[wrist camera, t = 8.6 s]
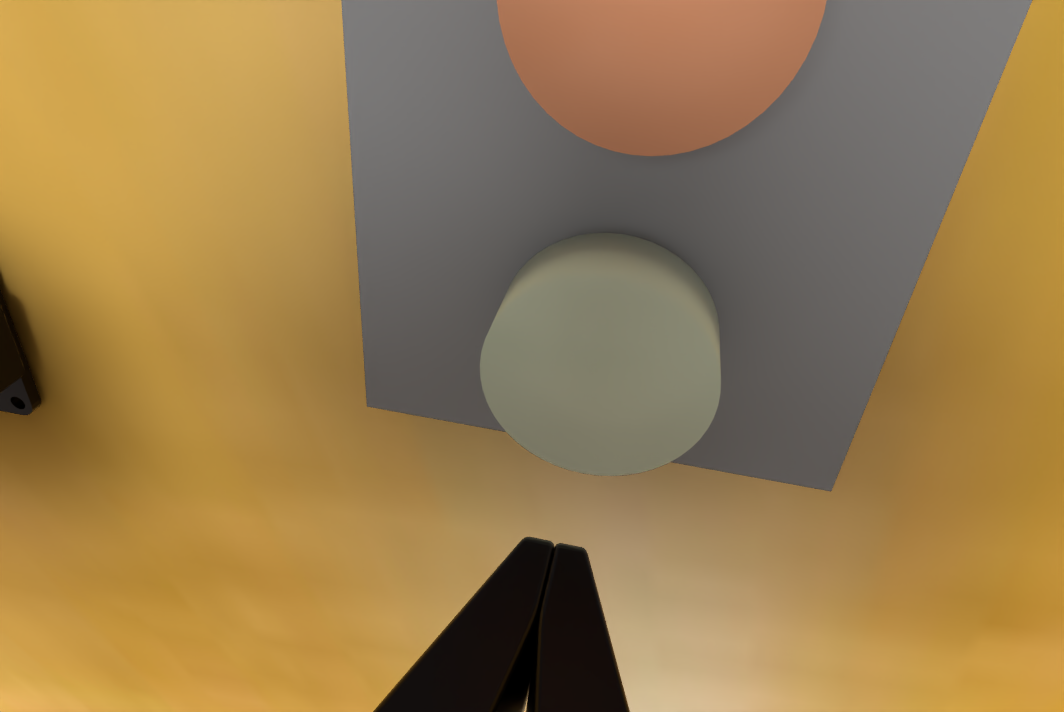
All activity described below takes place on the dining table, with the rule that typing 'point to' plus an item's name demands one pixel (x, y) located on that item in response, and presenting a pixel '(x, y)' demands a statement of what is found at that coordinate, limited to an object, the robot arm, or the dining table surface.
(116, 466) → the dining table surface
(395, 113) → the button panel
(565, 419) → the button sage
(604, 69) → the button terracotta
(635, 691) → the dining table surface
